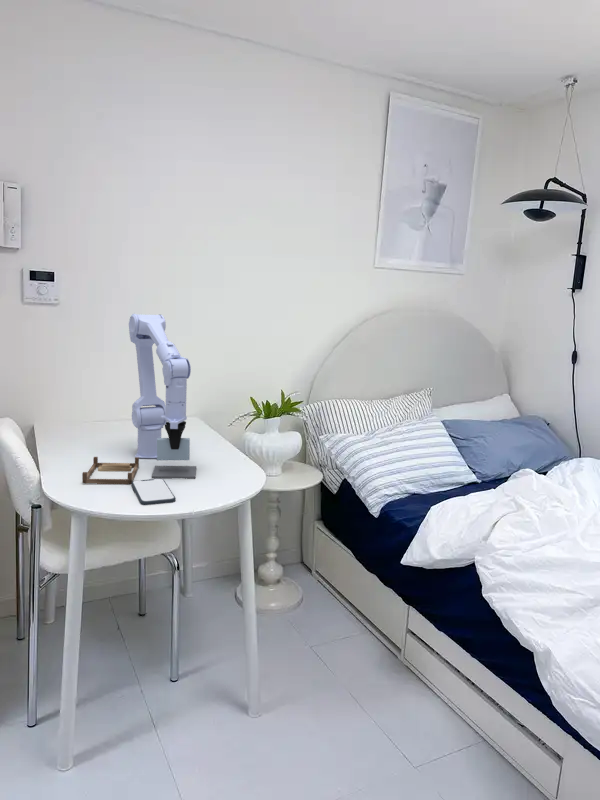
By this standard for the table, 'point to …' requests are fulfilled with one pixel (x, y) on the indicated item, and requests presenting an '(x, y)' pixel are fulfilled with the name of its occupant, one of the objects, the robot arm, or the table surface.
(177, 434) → the robot arm
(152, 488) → the phone case
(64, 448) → the table surface
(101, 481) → the frame
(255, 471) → the table surface
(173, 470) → the mat
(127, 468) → the offcut stack
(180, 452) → the panel
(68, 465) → the table surface
